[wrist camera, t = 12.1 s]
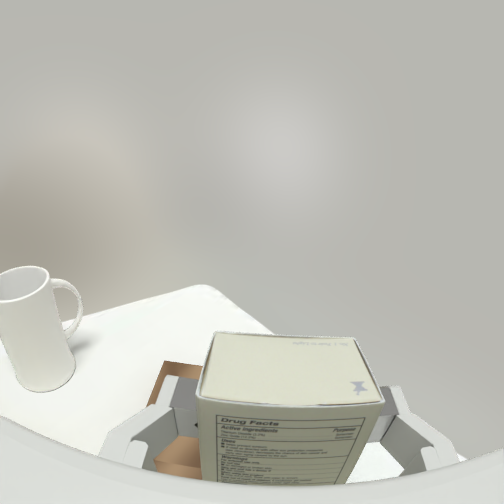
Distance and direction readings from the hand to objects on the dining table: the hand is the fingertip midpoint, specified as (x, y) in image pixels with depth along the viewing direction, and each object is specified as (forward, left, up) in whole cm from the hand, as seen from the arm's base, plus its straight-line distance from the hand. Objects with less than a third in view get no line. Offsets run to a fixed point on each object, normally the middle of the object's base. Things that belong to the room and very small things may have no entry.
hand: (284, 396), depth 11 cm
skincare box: (0, -1, -10) cm, 11 cm away
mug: (-25, +14, -17) cm, 33 cm away
